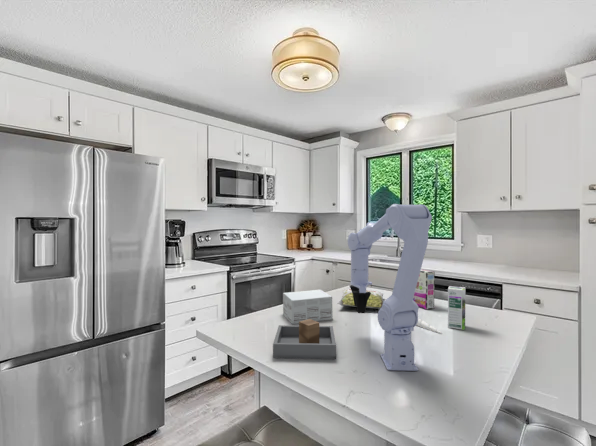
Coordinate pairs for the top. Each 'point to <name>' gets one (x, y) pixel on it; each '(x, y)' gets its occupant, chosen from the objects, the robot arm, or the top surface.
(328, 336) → the charcoal bin
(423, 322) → the unicorn horn
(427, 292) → the candy bar box
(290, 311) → the supplement box
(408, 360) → the robot arm
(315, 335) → the walnut block
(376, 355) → the top surface
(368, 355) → the top surface
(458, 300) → the syrup box
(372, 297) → the frozen beans
